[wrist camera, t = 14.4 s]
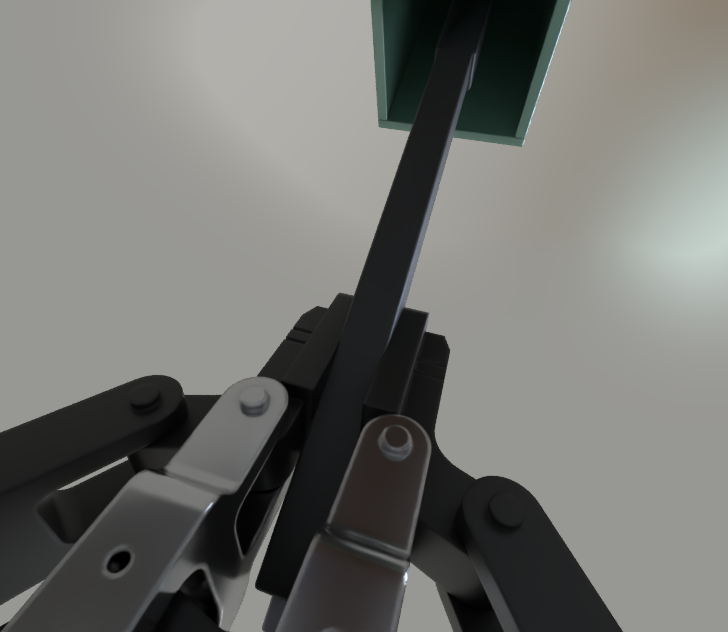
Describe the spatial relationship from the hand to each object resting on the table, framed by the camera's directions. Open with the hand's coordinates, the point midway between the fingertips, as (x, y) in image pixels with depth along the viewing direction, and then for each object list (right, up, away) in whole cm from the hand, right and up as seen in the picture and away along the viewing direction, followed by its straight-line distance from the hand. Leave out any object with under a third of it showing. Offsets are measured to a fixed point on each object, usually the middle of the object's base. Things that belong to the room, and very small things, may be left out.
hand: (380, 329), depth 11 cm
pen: (+1, +4, 0) cm, 4 cm away
